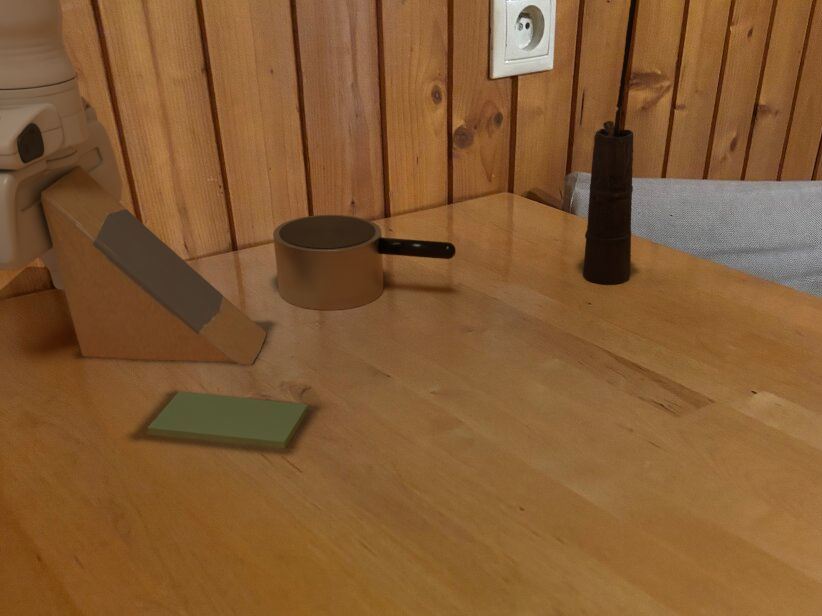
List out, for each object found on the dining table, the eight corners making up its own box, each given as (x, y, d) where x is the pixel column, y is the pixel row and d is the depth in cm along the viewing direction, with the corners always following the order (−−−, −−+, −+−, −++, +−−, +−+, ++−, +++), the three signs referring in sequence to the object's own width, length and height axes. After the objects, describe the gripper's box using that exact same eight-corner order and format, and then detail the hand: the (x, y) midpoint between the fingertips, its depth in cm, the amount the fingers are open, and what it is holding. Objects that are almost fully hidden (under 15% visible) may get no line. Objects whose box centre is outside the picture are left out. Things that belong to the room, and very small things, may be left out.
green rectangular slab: (139, 446, 74) (135, 430, 73) (174, 405, 79) (171, 389, 78) (285, 462, 73) (283, 445, 72) (311, 419, 78) (309, 402, 77)
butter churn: (563, 254, 108) (589, -37, 91) (646, 261, 107) (689, -33, 89) (554, 283, 101) (580, -26, 84) (643, 291, 100) (688, -21, 82)
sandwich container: (249, 372, 84) (226, 198, 75) (82, 366, 85) (37, 192, 75) (269, 332, 91) (250, 168, 81) (114, 326, 91) (76, 163, 82)
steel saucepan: (265, 305, 96) (258, 245, 92) (297, 267, 104) (292, 210, 100) (445, 320, 94) (445, 259, 90) (463, 280, 102) (464, 223, 98)
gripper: (55, 89, 85) (92, 243, 94) (-81, 147, 70) (-22, 326, 78) (121, 92, 84) (151, 247, 93) (-2, 152, 69) (48, 331, 78)
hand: (71, 284), depth 86 cm, fingers closed
